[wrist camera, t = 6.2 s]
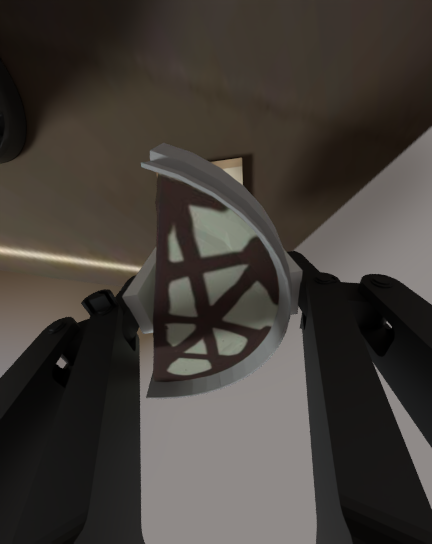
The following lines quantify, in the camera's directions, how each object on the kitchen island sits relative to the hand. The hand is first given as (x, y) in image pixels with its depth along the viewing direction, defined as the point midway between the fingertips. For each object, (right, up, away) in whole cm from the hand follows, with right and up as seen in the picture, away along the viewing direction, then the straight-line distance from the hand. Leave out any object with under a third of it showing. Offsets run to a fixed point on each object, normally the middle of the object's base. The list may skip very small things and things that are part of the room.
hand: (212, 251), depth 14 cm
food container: (0, +1, +1) cm, 2 cm away
